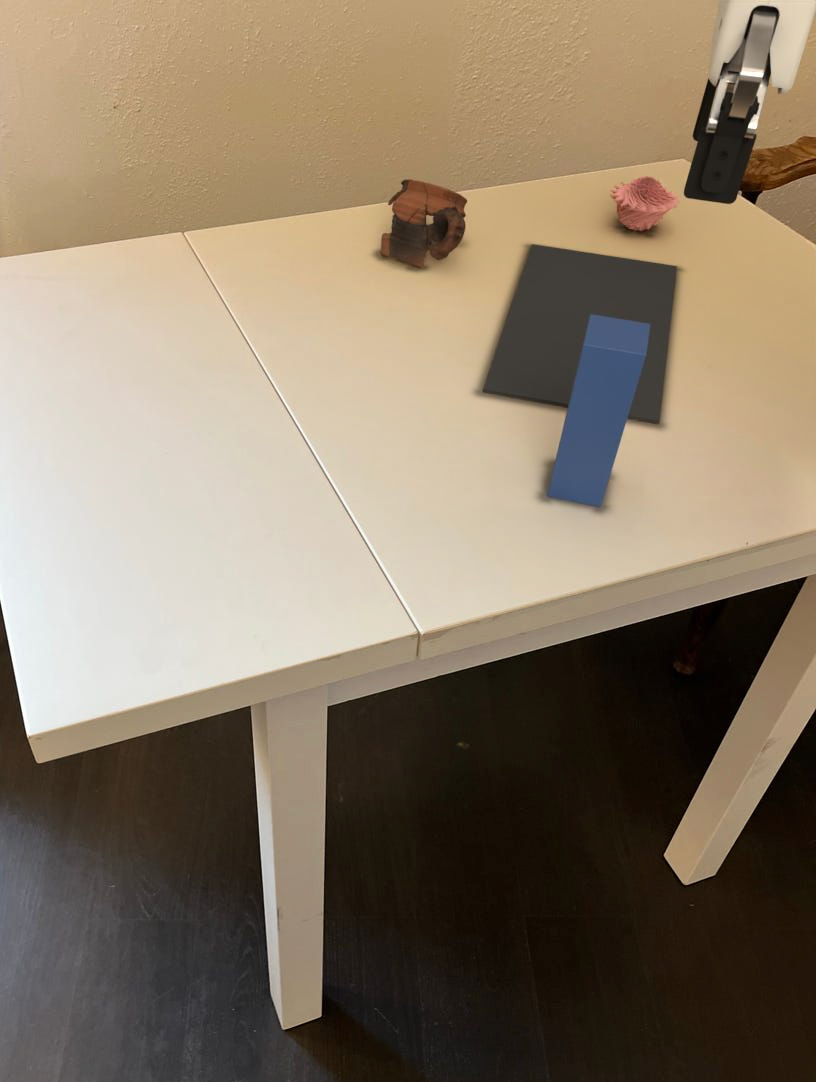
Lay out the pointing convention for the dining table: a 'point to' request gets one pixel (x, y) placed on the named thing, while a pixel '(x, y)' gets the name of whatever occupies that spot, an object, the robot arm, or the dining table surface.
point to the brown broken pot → (424, 223)
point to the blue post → (598, 408)
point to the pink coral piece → (643, 202)
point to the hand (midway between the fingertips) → (711, 169)
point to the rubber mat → (580, 324)
